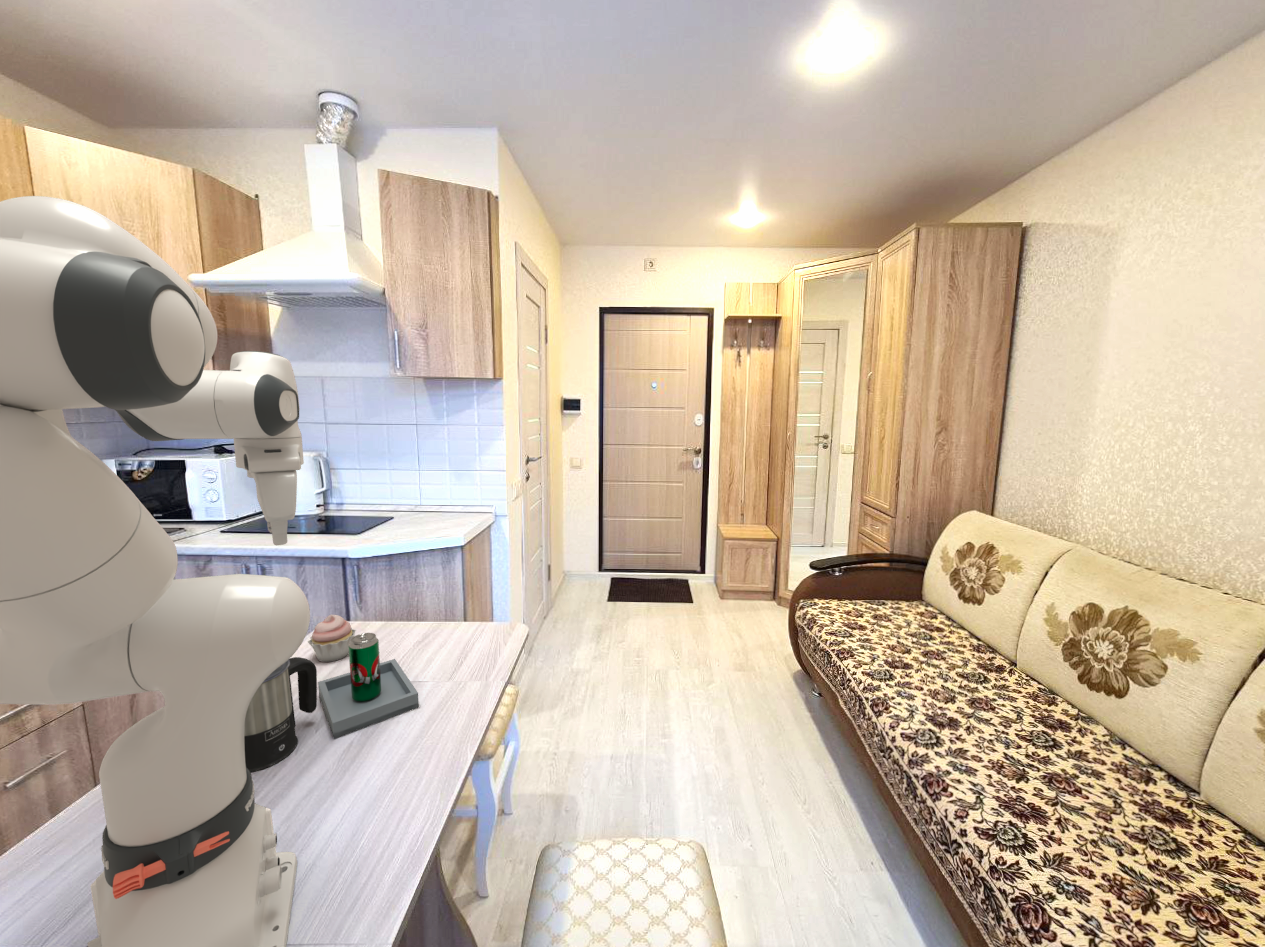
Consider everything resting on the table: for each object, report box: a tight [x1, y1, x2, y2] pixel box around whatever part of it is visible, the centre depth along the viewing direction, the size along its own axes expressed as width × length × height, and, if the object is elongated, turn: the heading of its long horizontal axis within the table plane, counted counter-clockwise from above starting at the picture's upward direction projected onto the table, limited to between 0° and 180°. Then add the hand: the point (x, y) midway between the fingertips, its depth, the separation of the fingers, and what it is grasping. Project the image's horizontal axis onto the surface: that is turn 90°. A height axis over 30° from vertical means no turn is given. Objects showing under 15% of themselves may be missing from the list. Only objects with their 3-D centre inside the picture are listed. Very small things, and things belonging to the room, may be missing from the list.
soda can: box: [348, 632, 381, 702], centre depth 92 cm, size 5×5×12 cm
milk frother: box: [244, 656, 318, 773], centre depth 80 cm, size 14×16×15 cm
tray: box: [317, 658, 420, 740], centre depth 93 cm, size 16×14×3 cm
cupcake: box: [307, 614, 357, 663], centre depth 109 cm, size 9×9×10 cm
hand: (277, 537), depth 80 cm, fingers open, 8 cm apart
